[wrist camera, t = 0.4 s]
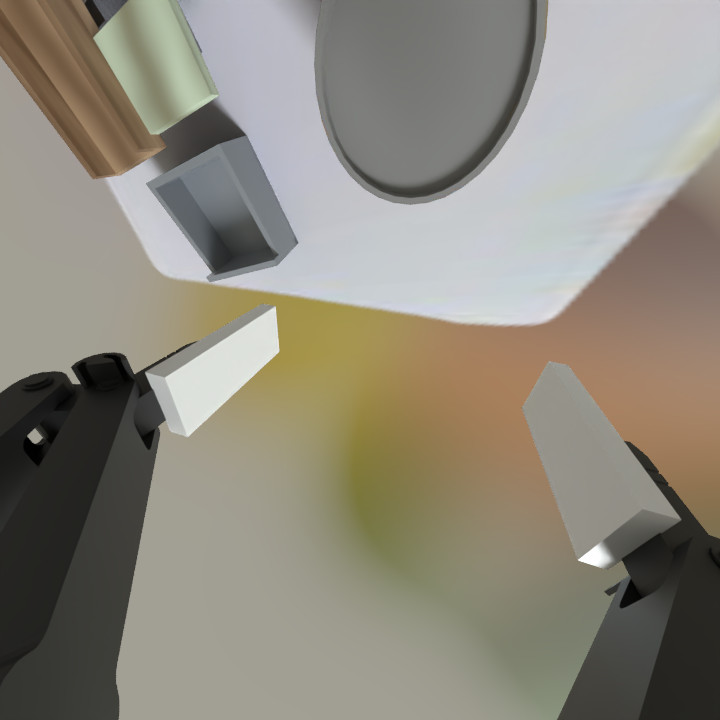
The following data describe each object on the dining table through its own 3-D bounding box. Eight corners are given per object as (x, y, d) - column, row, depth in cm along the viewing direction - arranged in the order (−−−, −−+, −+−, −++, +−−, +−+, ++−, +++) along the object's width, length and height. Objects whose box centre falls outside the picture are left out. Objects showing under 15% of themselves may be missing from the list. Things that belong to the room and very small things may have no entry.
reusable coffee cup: (455, 182, 30) (454, 237, 20) (352, 131, 29) (296, 163, 19) (551, 2, 20) (637, -62, 10) (401, -82, 19) (340, -239, 9)
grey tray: (246, 135, 31) (210, 146, 27) (298, 242, 40) (277, 265, 35) (176, 172, 37) (136, 186, 32) (235, 260, 45) (209, 282, 40)
